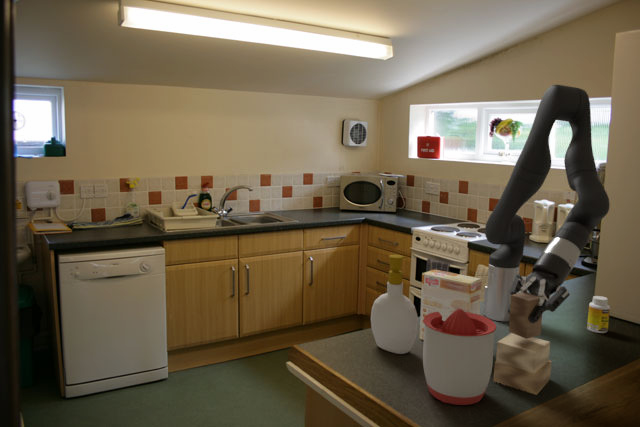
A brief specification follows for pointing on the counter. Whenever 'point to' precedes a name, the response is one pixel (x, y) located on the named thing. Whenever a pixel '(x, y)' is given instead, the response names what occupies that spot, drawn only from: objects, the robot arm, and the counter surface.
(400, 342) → the soap bottle
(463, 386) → the citrus juicer
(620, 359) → the counter surface
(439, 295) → the coffeecake box
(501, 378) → the block bottom
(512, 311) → the walnut post
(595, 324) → the supplement bottle
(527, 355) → the block top
